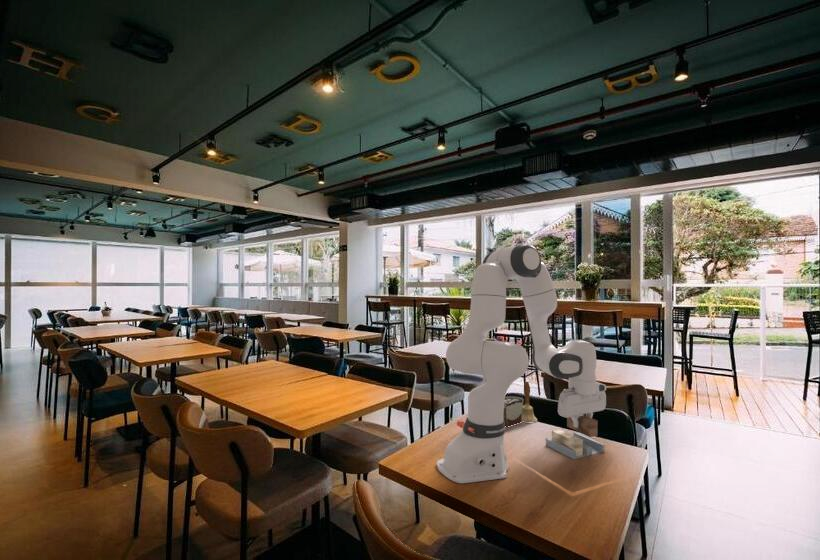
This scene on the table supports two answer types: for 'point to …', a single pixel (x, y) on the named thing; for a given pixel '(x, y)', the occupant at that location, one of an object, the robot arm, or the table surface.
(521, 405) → the food container
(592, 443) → the slot rack
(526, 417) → the hand bell
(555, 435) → the maple bar
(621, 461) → the table surface
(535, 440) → the table surface
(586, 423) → the walnut bar
